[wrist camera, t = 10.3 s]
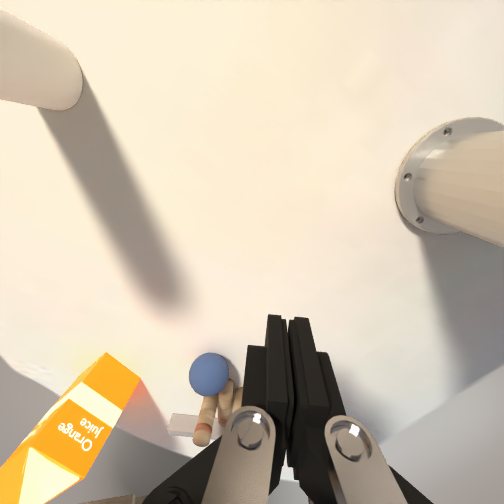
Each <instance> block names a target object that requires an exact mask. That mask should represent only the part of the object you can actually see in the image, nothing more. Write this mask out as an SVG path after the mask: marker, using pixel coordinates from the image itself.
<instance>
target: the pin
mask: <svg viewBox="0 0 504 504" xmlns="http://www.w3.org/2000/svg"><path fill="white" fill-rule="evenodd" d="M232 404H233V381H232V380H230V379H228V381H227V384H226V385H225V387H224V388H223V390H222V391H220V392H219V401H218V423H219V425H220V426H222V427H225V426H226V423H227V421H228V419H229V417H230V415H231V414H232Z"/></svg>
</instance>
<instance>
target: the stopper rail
mask: <svg viewBox="0 0 504 504" xmlns="http://www.w3.org/2000/svg"><path fill="white" fill-rule="evenodd" d="M198 418H199V416H193V415H184V414H174V413H173V414H172V417H171V419H170V422H169V425H168V427H167V434H168V435H177V436H186V437H194V432H195V428H196V425H197V422H198ZM224 429H225V427H222V426H220V425H219V423H218V418H214V422H213V427H212V433H211V438H210V439H214V440H216V439H218V438H219V437H220V436H221V435H223V433H224Z"/></svg>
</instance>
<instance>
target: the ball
mask: <svg viewBox="0 0 504 504" xmlns="http://www.w3.org/2000/svg"><path fill="white" fill-rule="evenodd" d="M228 377H229V369H228V365H227V363H226V361H225V360H224V359H223V358H222V357H221V356H220V355H218V354H215V353H205V354H203V355H201V356H199V357H198V358H197V359H196V360H195V361H194V362H193V364H192V366H191V368H190V371H189V381H190V384H191V387H192V388H193V390H194V391H195V392H196V393H198V394H199V395H202V396H207V397H208V396H213V395H216V394H218V393H219V392H220V391H222V390H223V388H224V387H225V385H226V384H227V381H228Z"/></svg>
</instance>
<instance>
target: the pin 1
mask: <svg viewBox="0 0 504 504" xmlns="http://www.w3.org/2000/svg"><path fill="white" fill-rule="evenodd" d="M218 398H219V393H218V394H216V395H213V396H208V397H207V396H204V399H203V403H202V406H201V410H200V414H199V418H198V422H197V425H196V428H195V432H194V437H193V443H194V444H195V445H197V446H200V447H205V446H207V445H208V444H209V442H210V438H211V433H212V427H213V422H214V417H215V412H216V407H217V403H218Z"/></svg>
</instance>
